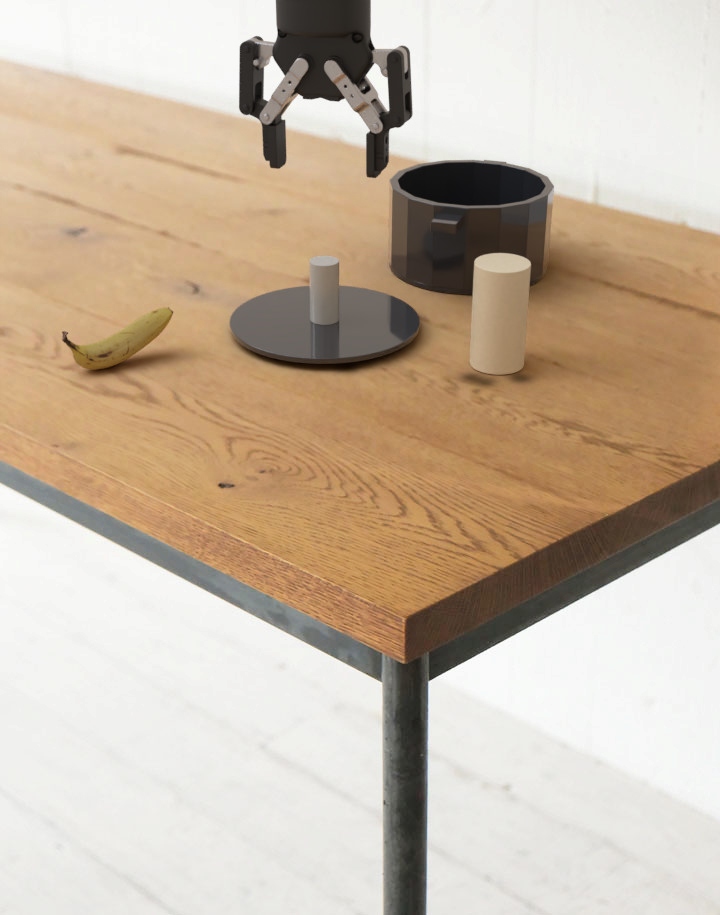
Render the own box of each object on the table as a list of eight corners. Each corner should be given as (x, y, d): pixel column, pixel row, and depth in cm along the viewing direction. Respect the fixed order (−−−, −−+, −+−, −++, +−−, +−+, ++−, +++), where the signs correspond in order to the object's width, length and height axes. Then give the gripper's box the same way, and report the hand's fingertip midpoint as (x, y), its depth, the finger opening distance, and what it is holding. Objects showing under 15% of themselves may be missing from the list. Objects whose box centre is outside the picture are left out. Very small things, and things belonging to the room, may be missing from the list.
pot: (564, 240, 141) (570, 161, 137) (522, 313, 123) (528, 224, 119) (420, 225, 145) (422, 147, 141) (360, 293, 128) (361, 206, 124)
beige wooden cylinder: (529, 356, 115) (536, 256, 111) (517, 378, 111) (524, 275, 107) (476, 349, 116) (481, 250, 112) (463, 370, 112) (468, 268, 108)
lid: (440, 308, 125) (443, 240, 121) (387, 382, 110) (389, 307, 107) (270, 287, 129) (268, 220, 126) (199, 355, 115) (195, 282, 112)
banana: (167, 344, 117) (164, 301, 115) (181, 353, 115) (178, 310, 113) (59, 372, 112) (54, 327, 110) (72, 382, 110) (67, 337, 108)
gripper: (219, -30, 104) (230, 176, 112) (396, -21, 100) (394, 191, 108) (256, -44, 110) (263, 152, 118) (423, -36, 106) (420, 166, 114)
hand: (326, 170), depth 113 cm, fingers open, 8 cm apart
